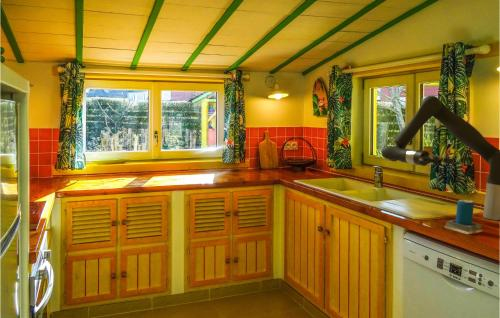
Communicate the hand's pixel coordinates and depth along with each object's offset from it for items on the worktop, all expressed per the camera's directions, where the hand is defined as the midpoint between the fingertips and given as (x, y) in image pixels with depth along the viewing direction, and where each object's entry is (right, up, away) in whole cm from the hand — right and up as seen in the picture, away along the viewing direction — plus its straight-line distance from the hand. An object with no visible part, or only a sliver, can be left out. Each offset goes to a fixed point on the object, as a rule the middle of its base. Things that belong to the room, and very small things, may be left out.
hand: (446, 161), depth 204 cm
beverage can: (+1, -29, -13) cm, 32 cm away
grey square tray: (+2, -30, -13) cm, 32 cm away
